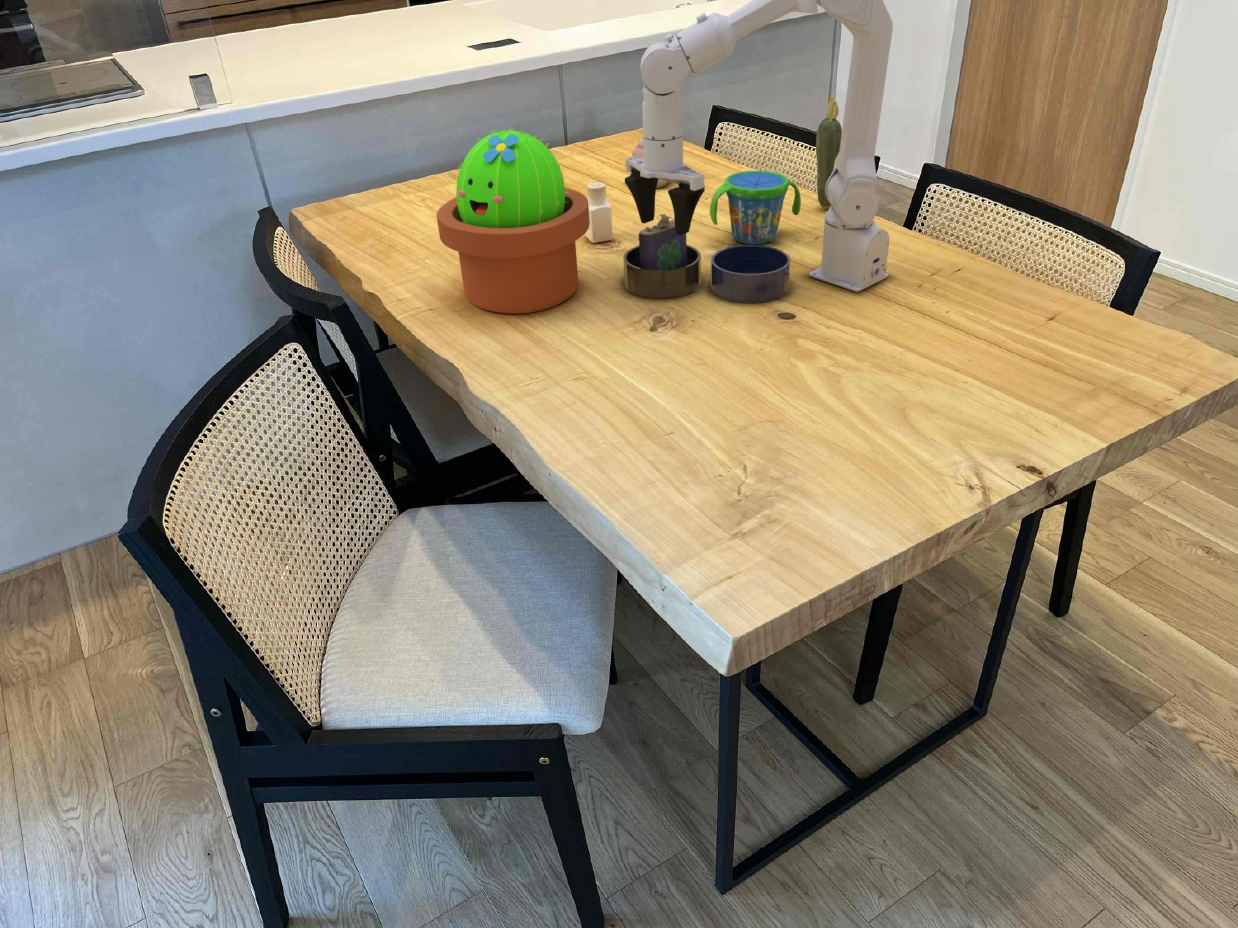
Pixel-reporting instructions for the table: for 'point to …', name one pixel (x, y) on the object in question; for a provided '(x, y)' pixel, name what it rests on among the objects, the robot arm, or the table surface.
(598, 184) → the pepper shaker
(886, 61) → the robot arm
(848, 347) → the table surface
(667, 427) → the table surface
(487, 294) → the potted cactus
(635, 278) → the charcoal bowl
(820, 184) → the vegetable
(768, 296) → the indigo bowl
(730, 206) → the snack cup
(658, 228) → the flask
